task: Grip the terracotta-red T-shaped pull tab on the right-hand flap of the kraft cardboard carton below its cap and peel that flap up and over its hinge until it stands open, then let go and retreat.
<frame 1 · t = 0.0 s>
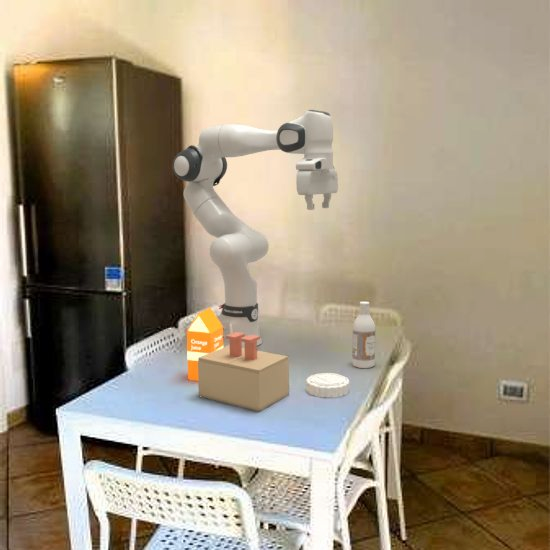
hand: (318, 208, 191), 48 cm above the table, fingers open, 8 cm apart
carton: (243, 395, 166), on the table
flap left: (228, 345, 166), point 13 cm above the table, hinge at 0.0°
flap right: (258, 350, 161), point 13 cm above the table, hinge at 0.0°
mooncake: (327, 391, 170), on the table
orange juice: (206, 376, 182), on the table
bath foam: (363, 365, 191), on the table
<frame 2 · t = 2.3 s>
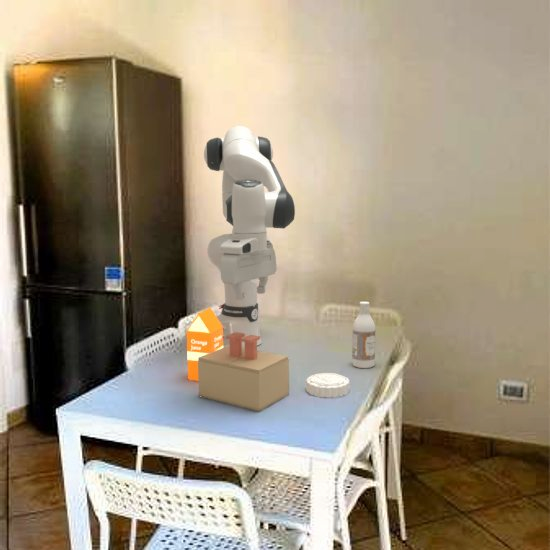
hand: (250, 296, 160), 28 cm above the table, fingers open, 8 cm apart
nothing on the table moved.
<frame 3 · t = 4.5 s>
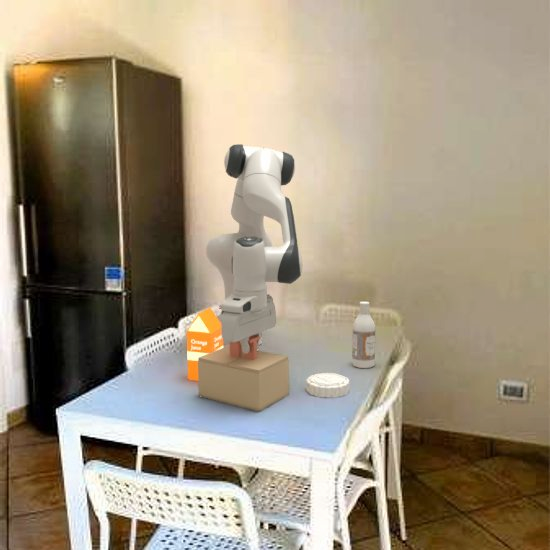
hand: (250, 350, 162), 13 cm above the table, fingers closed on flap right, 2 cm apart
flap right: (258, 350, 161), point 13 cm above the table, hinge at 0.0°, touching gripper
everything else where it was.
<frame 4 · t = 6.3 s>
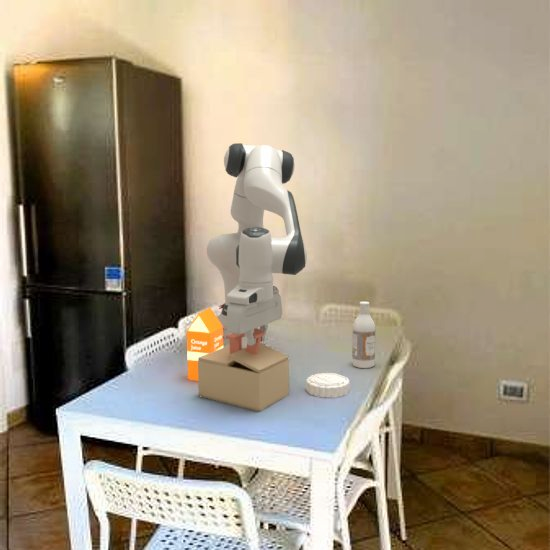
hand: (256, 342, 161), 15 cm above the table, fingers closed on flap right, 3 cm apart
flap right: (261, 347, 160), point 15 cm above the table, hinge at 14.5°, touching gripper
everything else where it was.
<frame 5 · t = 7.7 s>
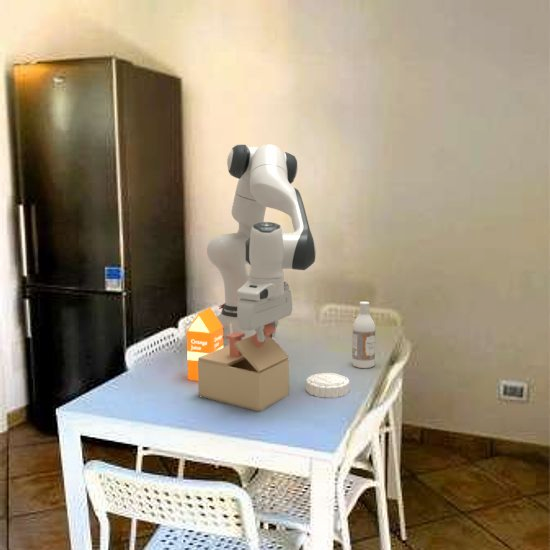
hand: (266, 339, 159), 17 cm above the table, fingers closed on flap right, 3 cm apart
flap right: (267, 343, 159), point 16 cm above the table, hinge at 38.4°, touching gripper
everything else where it was.
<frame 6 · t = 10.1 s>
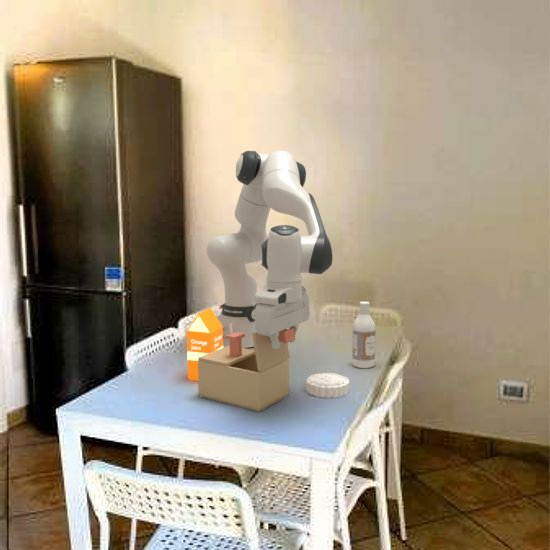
hand: (283, 344, 155), 16 cm above the table, fingers open, 6 cm apart
flap right: (280, 345, 156), point 16 cm above the table, hinge at 79.7°, touching gripper
everything else where it was.
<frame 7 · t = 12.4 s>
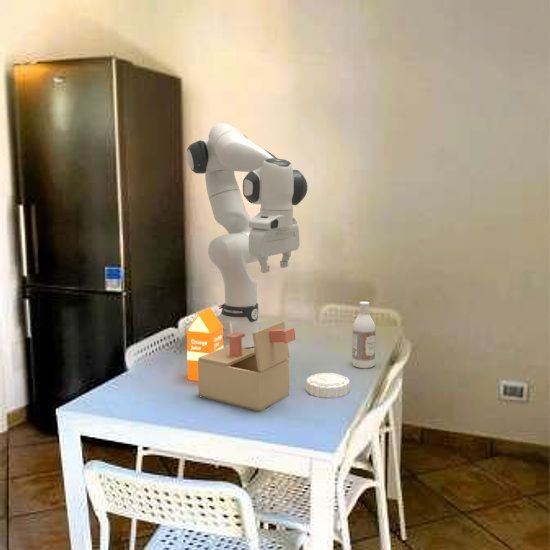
hand: (274, 269, 169), 33 cm above the table, fingers open, 8 cm apart
flap right: (280, 345, 156), point 16 cm above the table, hinge at 80.1°
everything else where it was.
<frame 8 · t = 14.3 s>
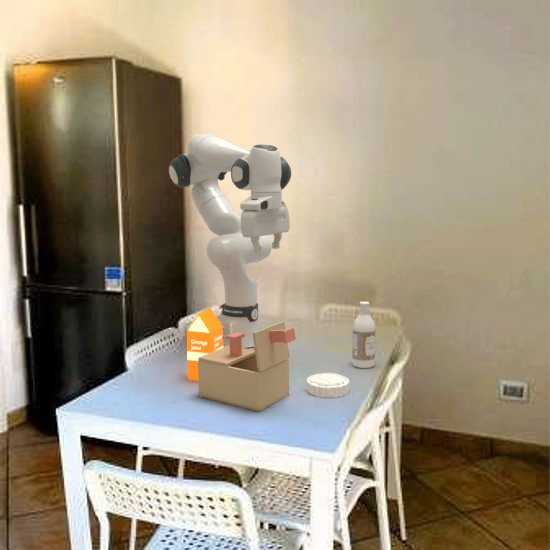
hand: (266, 250, 178), 37 cm above the table, fingers open, 8 cm apart
nothing on the table moved.
at the end: flap right at +80° (first picture: +0°); the gripper is holding nothing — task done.
